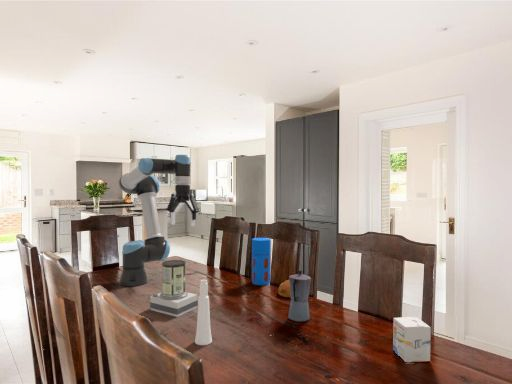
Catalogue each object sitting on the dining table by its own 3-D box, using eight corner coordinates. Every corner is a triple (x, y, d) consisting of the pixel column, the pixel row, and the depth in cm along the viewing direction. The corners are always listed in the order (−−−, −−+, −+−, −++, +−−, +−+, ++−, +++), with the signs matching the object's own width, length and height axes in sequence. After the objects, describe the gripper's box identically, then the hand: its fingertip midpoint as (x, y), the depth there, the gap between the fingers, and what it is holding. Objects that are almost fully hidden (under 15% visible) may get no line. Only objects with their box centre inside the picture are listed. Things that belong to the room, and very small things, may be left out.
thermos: (271, 280, 203) (271, 237, 202) (270, 285, 192) (270, 240, 191) (252, 279, 204) (252, 237, 203) (250, 284, 193) (250, 240, 192)
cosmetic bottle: (202, 336, 127) (202, 277, 126) (215, 340, 124) (215, 279, 123) (191, 343, 121) (191, 280, 121) (204, 347, 118) (205, 283, 118)
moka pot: (313, 313, 150) (313, 268, 149) (306, 327, 135) (307, 276, 135) (292, 311, 153) (292, 266, 152) (283, 324, 138) (283, 274, 138)
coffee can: (171, 288, 162) (172, 259, 162) (190, 291, 157) (190, 261, 157) (156, 295, 152) (157, 263, 152) (175, 298, 148) (175, 265, 148)
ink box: (392, 351, 116) (392, 316, 116) (416, 350, 117) (416, 315, 117) (405, 364, 108) (405, 327, 108) (431, 363, 108) (431, 326, 108)
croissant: (289, 292, 187) (288, 277, 188) (312, 295, 176) (311, 279, 177) (271, 297, 177) (270, 281, 178) (294, 300, 166) (293, 283, 167)
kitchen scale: (150, 309, 153) (150, 294, 153) (171, 301, 165) (171, 287, 165) (177, 317, 145) (177, 300, 145) (197, 307, 157) (197, 292, 156)
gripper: (159, 184, 182) (159, 224, 182) (196, 184, 170) (196, 227, 170) (170, 184, 189) (170, 223, 189) (206, 184, 176) (206, 226, 176)
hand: (182, 225), depth 179 cm, fingers open, 13 cm apart
